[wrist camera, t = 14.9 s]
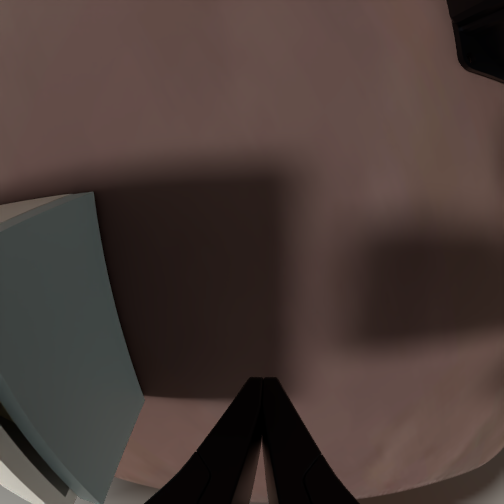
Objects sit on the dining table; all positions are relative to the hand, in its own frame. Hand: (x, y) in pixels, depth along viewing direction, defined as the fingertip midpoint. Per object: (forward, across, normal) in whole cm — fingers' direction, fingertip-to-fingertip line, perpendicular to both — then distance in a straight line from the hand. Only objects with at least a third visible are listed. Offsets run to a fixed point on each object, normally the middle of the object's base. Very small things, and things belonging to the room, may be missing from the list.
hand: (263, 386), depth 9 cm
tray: (+4, +13, 0) cm, 14 cm away
